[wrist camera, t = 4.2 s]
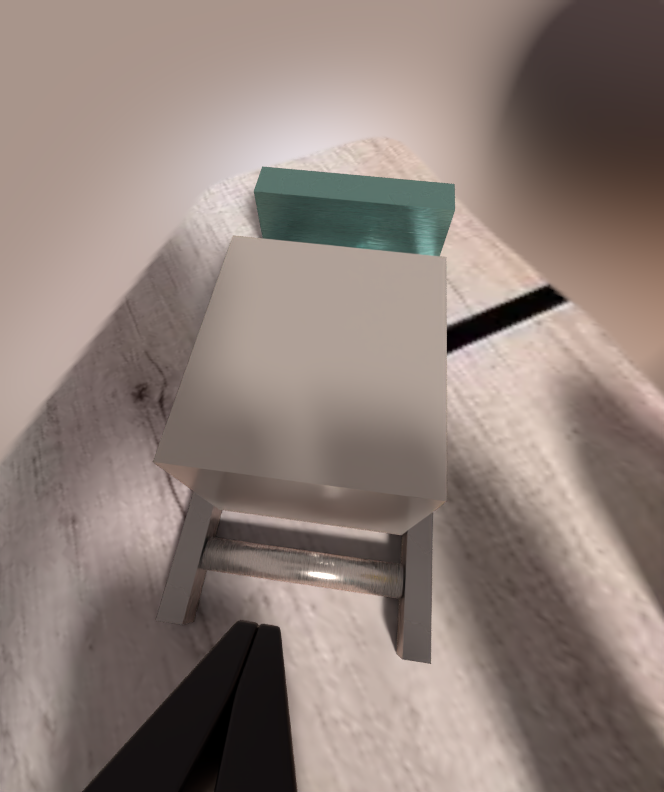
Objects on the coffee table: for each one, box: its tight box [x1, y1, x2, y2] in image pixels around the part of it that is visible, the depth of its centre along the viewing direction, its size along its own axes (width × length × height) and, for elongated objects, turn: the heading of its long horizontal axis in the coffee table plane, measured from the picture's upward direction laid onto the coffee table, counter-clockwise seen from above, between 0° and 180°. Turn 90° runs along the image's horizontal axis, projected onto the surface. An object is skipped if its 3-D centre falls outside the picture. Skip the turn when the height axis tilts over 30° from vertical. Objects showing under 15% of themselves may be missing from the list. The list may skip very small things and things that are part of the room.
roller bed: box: [156, 167, 455, 664], centre depth 21 cm, size 12×25×6 cm, turn 172°
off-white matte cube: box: [153, 236, 447, 535], centre depth 17 cm, size 10×9×8 cm
